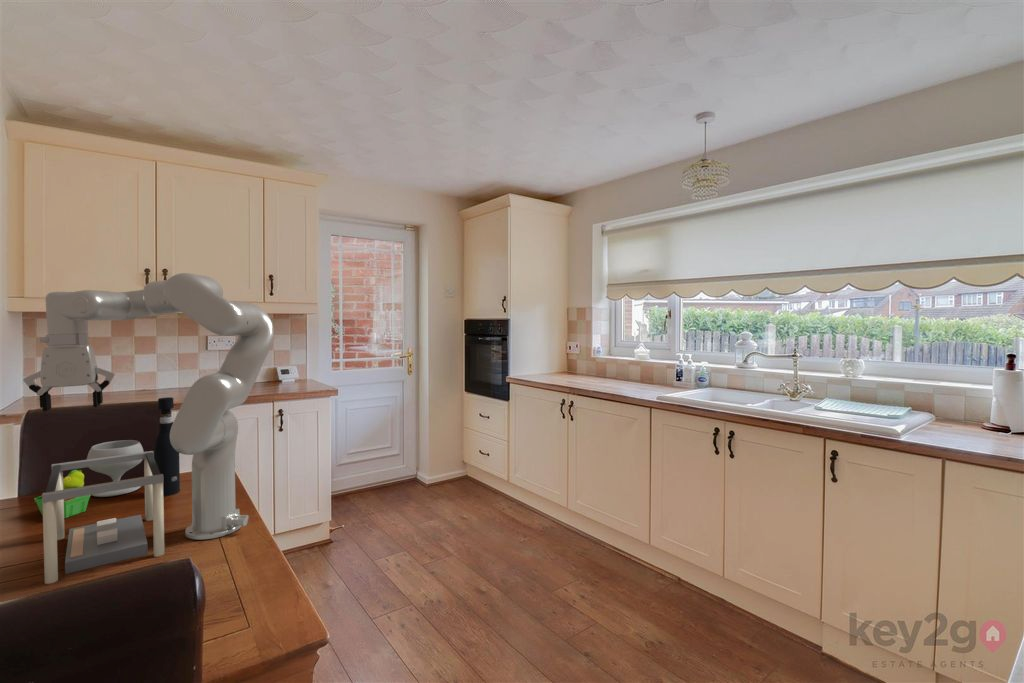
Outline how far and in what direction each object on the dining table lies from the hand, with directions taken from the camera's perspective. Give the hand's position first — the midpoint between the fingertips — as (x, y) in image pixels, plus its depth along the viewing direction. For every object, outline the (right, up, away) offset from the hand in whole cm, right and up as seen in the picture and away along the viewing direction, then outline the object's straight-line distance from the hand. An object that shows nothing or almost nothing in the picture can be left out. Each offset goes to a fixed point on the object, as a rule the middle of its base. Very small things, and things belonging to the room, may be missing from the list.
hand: (72, 408), depth 121 cm
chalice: (-14, -31, +31) cm, 46 cm away
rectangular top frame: (+15, -15, -7) cm, 22 cm away
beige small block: (+12, -30, -4) cm, 32 cm away
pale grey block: (+17, -30, -10) cm, 35 cm away
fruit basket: (-14, -31, +14) cm, 37 cm away
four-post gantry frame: (+14, -32, -6) cm, 36 cm away
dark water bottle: (+3, -31, +29) cm, 43 cm away
